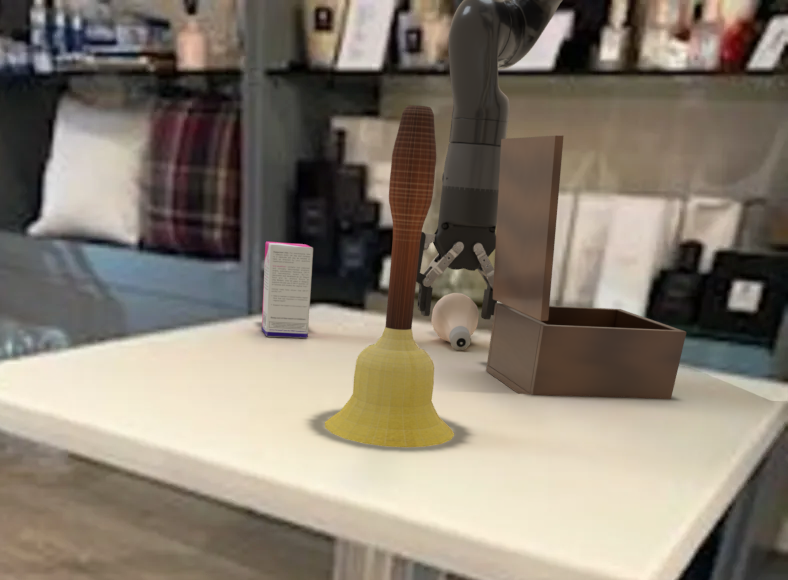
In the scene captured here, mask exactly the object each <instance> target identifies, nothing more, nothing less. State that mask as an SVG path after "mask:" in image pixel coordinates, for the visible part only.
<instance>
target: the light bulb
mask: <svg viewBox="0 0 788 580" xmlns="http://www.w3.org/2000/svg"><path fill="white" fill-rule="evenodd" d="M431 313H432V314H431V320H430V322H431V325H432V328H433V331H434V332H435V334H436V335H437V336H438V337H439V338H440V339H441V340H443V341H445V342H447V343H450V346H451V347H452V348H453V349H454V350H456V351H465V350H466V349H467V348H469V346H470V345H471V341H472V338H471V337H472V335H474V333H475V332H476V330H477V328H478V323H479V318H480V313H479V308H478V305H477V304H476V303H475V302H474V301H473V299H472V298H471V296H468V295H466V294H465V293H463V292H462V293H461V292H451V293H449V294H445V295H443V296H442V297H441V298H440V299H438V300H437V301H436V303H435V305H434V307H433V309H432V312H431Z"/></svg>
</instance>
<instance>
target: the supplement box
mask: <svg viewBox="0 0 788 580" xmlns="http://www.w3.org/2000/svg"><path fill="white" fill-rule="evenodd" d="M264 246H265V247H264V248H265V249H264V265H263V267H264V268H263V270H264V271H263V290H262V292H263V293H262V312H261V313H262V314H261V315H262V316H261V331H262V332H263V334H264V336H265V337H268V338H296V339H307V338H308V336H309V324H310V323H309V321H310V309H311V308H310V306H311V292H312V291H311V290H312V276H313V258H314V247H313V246H310V245H308V244H305V243H304V244H303V243H291V242H279V241H278V242H277V241H267V240H266V242H265V245H264Z"/></svg>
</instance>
